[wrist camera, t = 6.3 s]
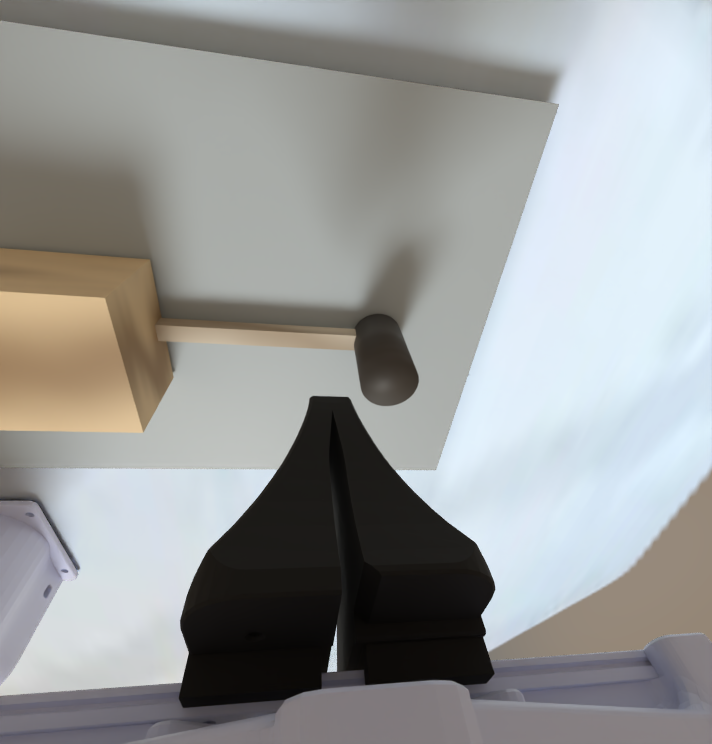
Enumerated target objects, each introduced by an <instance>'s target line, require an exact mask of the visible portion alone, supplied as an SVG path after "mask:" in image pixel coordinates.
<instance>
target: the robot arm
mask: <svg viewBox="0 0 712 744" xmlns="http://www.w3.org/2000/svg"><path fill="white" fill-rule="evenodd" d="M77 576H78V572H77V570H76V569H75V567H74V565H73V563H72V562H71V560H70V558H69V557H68V555H67V553H66V551H65V550H64V548H63V546H62V545H61V543H60V541H59V539H58V538H57V536H56V534H55V533H54V531H53V529H52V527H51V526H50V524H49V522H48V521H47V519H46V517H45V516H44V514H43V512H42V510H41V509H40V507H39V505H38V504H37V503H35V502H33V501H0V685H1V684H2V683H3V682H4V681H5V680H6V678H7V677H8V676H9V675H10V673H11V672H12V671H13V669H14V668H15V666H16V665H17V663H18V661H19V659H20V658H21V656H22V654H23V652H24V650H25V648H26V647H27V645H28V643H29V641H30V639H31V638H32V636H33V634H34V632H35V630H36V628H37V627H38V625H39V623H40V621H41V619H42V617H43V616H44V614H45V612H46V610H47V608H48V607H49V605H50V603H51V601H52V599H53V597H54V596H55V594H56V592H57V590H58V588H59V586H60V585H61V583H62V581H72V580H75V579H76V578H77ZM494 591H495V584H494V580H493V578H492V575H491V573H490V570H489V568H488V566H487V564H486V562H485V560H484V558H483V556H482V554H481V552H480V550H479V548H478V546H477V544H476V543H475V542H474V541H472V540H471V539H470V538H468V537H467V536H466V535H464V534H463V533H461V532H460V531H459V530H457V529H456V528H455V527H453V526H452V525H451V524H449V523H448V522H447V521H446V520H444V519H443V518H442V517H441V516H440V515H438V514H437V513H436V512H435V511H434V510H433V509H431V508H430V507H429V506H428V505H427V504H426V503H425V502H424V501H423V500H422V499H421V498H420V497H419V496H418V495H417V494H416V493H415V492H414V491H413V490H412V489H411V488H410V487H409V486H408V485H407V484H406V483H405V482H404V481H403V480H402V478H401V477H400V476H399V475H398V474H397V473H396V471H395V470H394V469H393V468H392V467H391V465H390V464H389V463H388V461H387V460H386V459H385V457H384V456H383V455H382V453H381V452H380V450H379V449H378V448H377V446H376V445H375V443H374V442H373V440H372V438H371V437H370V435H369V434H368V432H367V430H366V429H365V427H364V425H363V424H362V422H361V420H360V418H359V416H358V414H357V412H356V410H355V408H354V406H353V404H352V401H351V399H350V398H349V397H336V396H312V397H310V398H309V405H308V409H307V412H306V415H305V418H304V421H303V423H302V426H301V428H300V430H299V433H298V435H297V437H296V439H295V441H294V443H293V445H292V447H291V448H290V450H289V452H288V454H287V456H286V457H285V459H284V461H283V462H282V464H281V466H280V467H279V469H278V470H277V472H276V473H275V475H274V476H273V478H272V479H271V480H270V482H269V483H268V485H267V486H266V487H265V489H264V490H263V491H262V493H261V494H260V495H259V496H258V498H257V499H256V500H255V501H254V503H253V504H252V505H251V506H250V507H249V508H248V509H247V510H246V512H245V513H244V514H243V515H242V516H241V517H240V518H239V520H238V521H237V522H236V523H235V524H234V525H233V526H232V527H231V528H230V529H229V530H228V531H227V532H226V533H225V534H224V535H223V536H222V537H221V538H220V539H219V540H218V541H217V542H216V543H215V544H214V545H213V546H212V547H211V548H210V549H209V550H208V551H207V553H206V555H205V557H204V558H203V560H202V562H201V564H200V566H199V568H198V570H197V572H196V574H195V576H194V579H193V581H192V584H191V586H190V589H189V591H188V594H187V597H186V601H185V605H184V609H183V612H182V616H181V620H180V627H181V631H182V634H183V637H184V640H185V643H186V646H187V648H188V651H189V655H188V659H187V664H186V668H185V672H184V676H183V681H182V683H173V684H159V685H146V686H132V687H118V688H104V689H90V690H76V691H62V692H48V693H34V694H20V695H7V696H0V744H712V643H711V641H710V640H709V639H708V637H707V636H706V635H705V634H702V633H689V634H675V635H666V636H661V637H659V638H656V639H654V640H652V641H651V642H650V643H648V644H647V645H646V646H645V647H644V650H633V651H619V652H604V653H592V654H577V655H563V656H551V657H550V656H549V657H535V658H521V659H507V660H494V661H490V658H489V654H488V651H487V648H486V645H485V642H484V639H483V636H485V634H486V630H485V627H484V624H483V621H482V618H481V614H482V613H483V611H484V610H485V608H486V607H487V605H488V603H489V602H490V600H491V598H492V596H493V594H494ZM336 625H337V672H327V669H328V663H329V657H330V652H331V646H333V642H334V636H335V631H336Z"/></svg>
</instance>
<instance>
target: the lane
mask: <svg viewBox="0 0 712 744" xmlns="http://www.w3.org/2000/svg"><path fill="white" fill-rule="evenodd" d="M558 106H559V104H554V103H548V102H541V101H534V100H528V99H521V98H514V97H508V96H501V95H494V94H488V93H481V92H474V91H468V90H461V89H454V88H448V87H441V86H434V85H428V84H421V83H414V82H408V81H401V80H394V79H388V78H381V77H374V76H368V75H361V74H354V73H348V72H341V71H334V70H328V69H321V68H314V67H308V66H301V65H294V64H288V63H281V62H274V61H268V60H261V59H254V58H247V57H241V56H234V55H227V54H221V53H214V52H207V51H201V50H194V49H187V48H181V47H174V46H167V45H161V44H154V43H147V42H141V41H134V40H127V39H121V38H114V37H107V36H101V35H94V34H87V33H81V32H74V31H67V30H61V29H54V28H47V27H41V26H34V25H27V24H21V23H14V22H7V21H1V20H0V248H6V249H19V250H32V251H46V252H59V253H72V254H85V255H98V256H111V257H124V258H137V259H150V262H151V267H152V272H153V277H154V282H155V287H156V292H157V297H158V302H159V307H160V312H161V317H162V318H172V319H190V320H207V321H225V322H242V323H260V324H278V325H295V326H313V327H331V328H348V329H354V328H355V326H356V325H357V324H358V322H359V321H361V320H362V319H363V318H365V317H367V316H369V315H373V314H384V315H388V316H390V317H392V318H393V319H394V320H395V321H396V322H397V323H398V325H399V327H400V330H401V332H402V335H403V337H404V340H405V342H406V345H407V347H408V350H409V352H410V355H411V357H412V360H413V362H414V365H415V367H416V370H417V372H418V376H419V383H418V387H417V389H416V391H415V392H414V394H413V395H412V396H411V397H410V398H409V399H407V400H406V401H404V402H402V403H400V404H397V405H393V406H380V405H376V404H373V403H371V402H370V401H368V400H367V399H366V398H365V397H364V395H363V393H362V391H361V387H360V381H359V375H358V369H357V362H356V356H355V351H353V350H333V349H312V348H292V347H271V346H251V345H230V344H210V343H189V342H169V341H166V342H167V347H168V352H169V357H170V362H171V367H172V372H173V377H174V378H173V380H172V382H171V383H170V385H169V387H168V389H167V391H166V392H165V394H164V396H163V398H162V400H161V402H160V403H159V405H158V407H157V409H156V411H155V413H154V414H153V416H152V418H151V420H150V422H149V423H148V425H147V427H146V429H145V431H144V433H122V432H64V431H7V430H0V468H135V469H279V467H280V466H281V464H282V462H283V461H284V459H285V457H286V456H287V454H288V452H289V450H290V448H291V447H292V445H293V443H294V441H295V439H296V437H297V435H298V433H299V430H300V428H301V426H302V423H303V421H304V418H305V415H306V412H307V409H308V405H309V398H310V397H312V396H336V397H349V398H350V399H351V401H352V404H353V406H354V408H355V410H356V412H357V414H358V416H359V418H360V420H361V422H362V424H363V425H364V427H365V429H366V430H367V432H368V434H369V435H370V437H371V438H372V440H373V442H374V443H375V445H376V446H377V448H378V449H379V450H380V452H381V453H382V455H383V456H384V457H385V459H386V460H387V461H388V463H389V464H390V465H391V467H392V468H393V469H394V470H436V468H437V465H438V462H439V459H440V456H441V454H442V451H443V448H444V445H445V442H446V439H447V436H448V433H449V430H450V427H451V424H452V421H453V418H454V415H455V412H456V409H457V406H458V403H459V400H460V397H461V394H462V391H463V388H464V385H465V382H466V379H467V376H468V373H469V370H470V367H471V364H472V361H473V358H474V355H475V352H476V350H477V347H478V344H479V341H480V338H481V335H482V332H483V329H484V326H485V323H486V320H487V317H488V314H489V311H490V308H491V305H492V302H493V299H494V296H495V293H496V290H497V287H498V284H499V281H500V278H501V275H502V272H503V269H504V266H505V263H506V260H507V257H508V254H509V251H510V248H511V245H512V243H513V240H514V237H515V234H516V231H517V228H518V225H519V222H520V219H521V216H522V213H523V210H524V207H525V204H526V201H527V198H528V195H529V192H530V189H531V186H532V183H533V180H534V177H535V174H536V171H537V168H538V165H539V162H540V159H541V156H542V153H543V150H544V147H545V144H546V141H547V139H548V136H549V133H550V130H551V127H552V124H553V121H554V118H555V115H556V112H557V109H558Z"/></svg>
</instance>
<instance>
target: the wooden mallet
mask: <svg viewBox="0 0 712 744" xmlns="http://www.w3.org/2000/svg"><path fill="white" fill-rule="evenodd" d="M166 341H169V342H189V343H210V344H230V345H251V346H271V347H292V348H312V349H333V350H353V351H355V356H356V362H357V369H358V375H359V381H360V387H361V391H362V393H363V395H364V397H365V398H366V399H367V400H368V401H370V402H371V403H373V404H376V405H380V406H393V405H397V404H400V403H402V402H404V401H406V400H407V399H409V398H410V397H411V396H412V395H413V394H414V392H415V391H416V389H417V387H418V383H419V376H418V372H417V370H416V367H415V365H414V362H413V360H412V357H411V355H410V352H409V350H408V347H407V345H406V342H405V340H404V337H403V335H402V332H401V330H400V327H399V325H398V323H397V322H396V321H395V320H394V319H393V318H392V317H390V316H388V315H384V314H373V315H369V316H367V317H365V318H363V319H362V320H361V321H359V322H358V324H357V325H356V326H355V328H354V329H348V328H331V327H313V326H295V325H278V324H260V323H242V322H225V321H207V320H190V319H172V318H162V317H161V312H160V307H159V302H158V297H157V292H156V287H155V282H154V277H153V272H152V267H151V262H150V259H137V258H124V257H111V256H98V255H85V254H72V253H59V252H46V251H32V250H19V249H6V248H0V430H7V431H64V432H122V433H144V431H145V429H146V427H147V425H148V423H149V422H150V420H151V418H152V416H153V414H154V413H155V411H156V409H157V407H158V405H159V403H160V402H161V400H162V398H163V396H164V394H165V392H166V391H167V389H168V387H169V385H170V383H171V382H172V380H173V378H174V377H173V372H172V367H171V362H170V357H169V352H168V347H167V342H166Z"/></svg>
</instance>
